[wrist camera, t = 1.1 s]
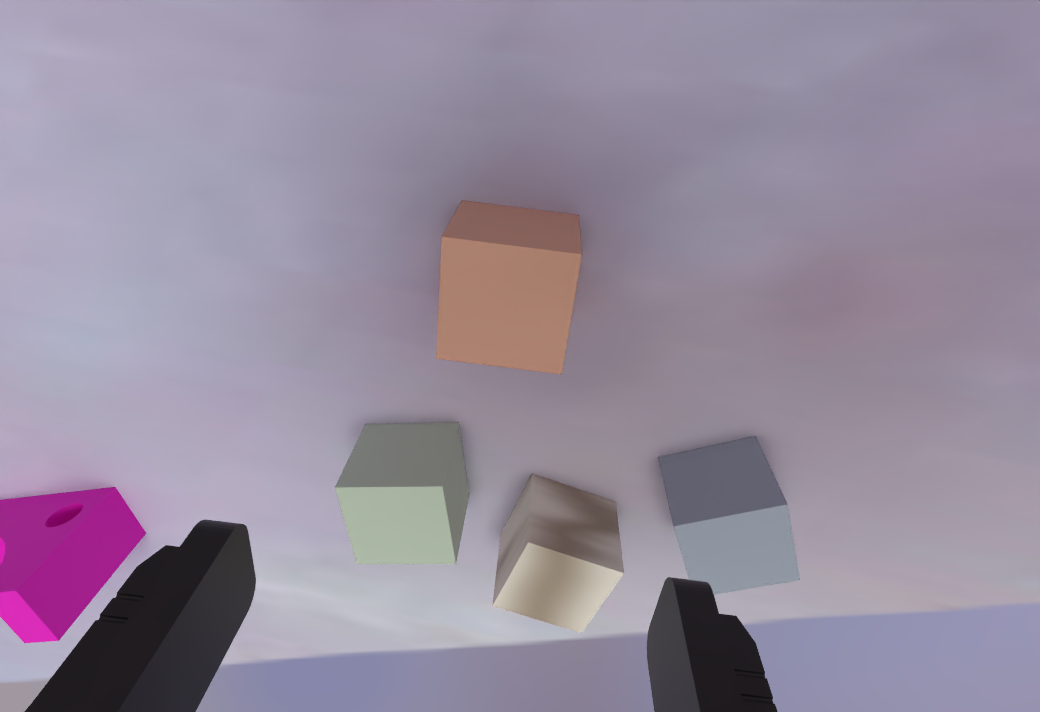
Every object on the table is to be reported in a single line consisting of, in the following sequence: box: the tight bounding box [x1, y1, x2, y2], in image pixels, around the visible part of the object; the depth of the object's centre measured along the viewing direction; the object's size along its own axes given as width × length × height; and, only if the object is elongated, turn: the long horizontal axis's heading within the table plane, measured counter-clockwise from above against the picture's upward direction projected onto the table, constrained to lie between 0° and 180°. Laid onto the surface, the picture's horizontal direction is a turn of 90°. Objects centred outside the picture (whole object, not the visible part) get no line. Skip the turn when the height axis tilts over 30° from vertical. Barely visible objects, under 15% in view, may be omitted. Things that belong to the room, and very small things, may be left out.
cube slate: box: [658, 436, 800, 594], centre depth 30 cm, size 5×5×5 cm
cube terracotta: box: [436, 200, 582, 374], centre depth 24 cm, size 5×5×5 cm
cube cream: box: [493, 474, 624, 633], centre depth 32 cm, size 5×5×5 cm
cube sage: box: [335, 422, 469, 564], centre depth 30 cm, size 5×5×5 cm
